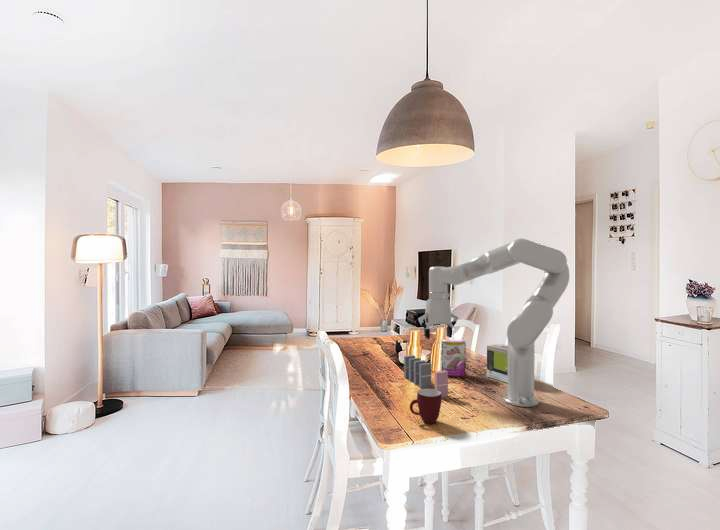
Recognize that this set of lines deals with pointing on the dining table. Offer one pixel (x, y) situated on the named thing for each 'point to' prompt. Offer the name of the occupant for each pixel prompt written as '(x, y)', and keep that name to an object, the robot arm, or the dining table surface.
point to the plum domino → (441, 382)
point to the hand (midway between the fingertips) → (438, 337)
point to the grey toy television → (497, 362)
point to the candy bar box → (453, 357)
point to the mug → (428, 405)
